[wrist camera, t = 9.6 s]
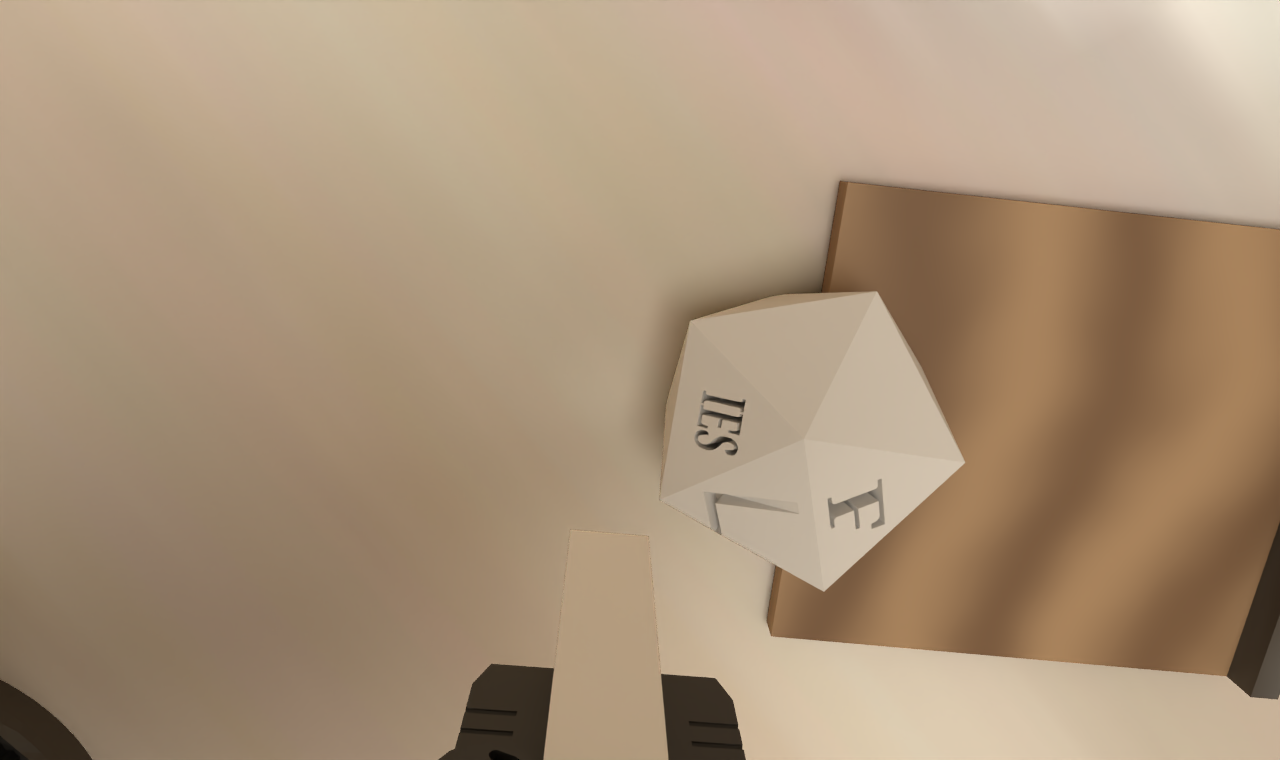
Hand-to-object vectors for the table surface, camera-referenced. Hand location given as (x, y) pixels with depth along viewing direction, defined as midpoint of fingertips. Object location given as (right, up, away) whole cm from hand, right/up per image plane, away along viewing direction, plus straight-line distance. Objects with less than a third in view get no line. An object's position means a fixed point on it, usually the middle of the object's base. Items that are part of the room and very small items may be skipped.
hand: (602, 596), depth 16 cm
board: (+15, +2, +13) cm, 20 cm away
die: (+1, +3, +13) cm, 13 cm away
